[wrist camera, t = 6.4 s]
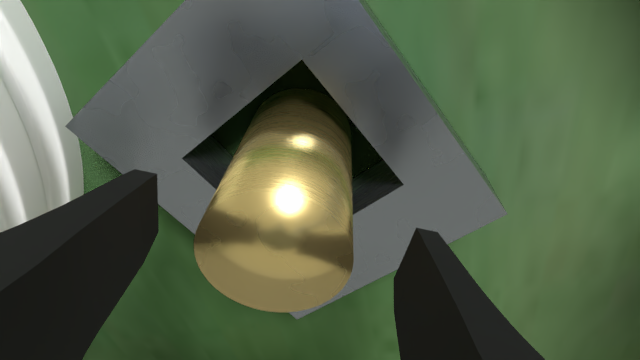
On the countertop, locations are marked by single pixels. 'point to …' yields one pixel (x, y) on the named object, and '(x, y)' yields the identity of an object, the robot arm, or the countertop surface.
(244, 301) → the cylinder
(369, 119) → the jig
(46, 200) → the plate stack
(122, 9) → the countertop surface
